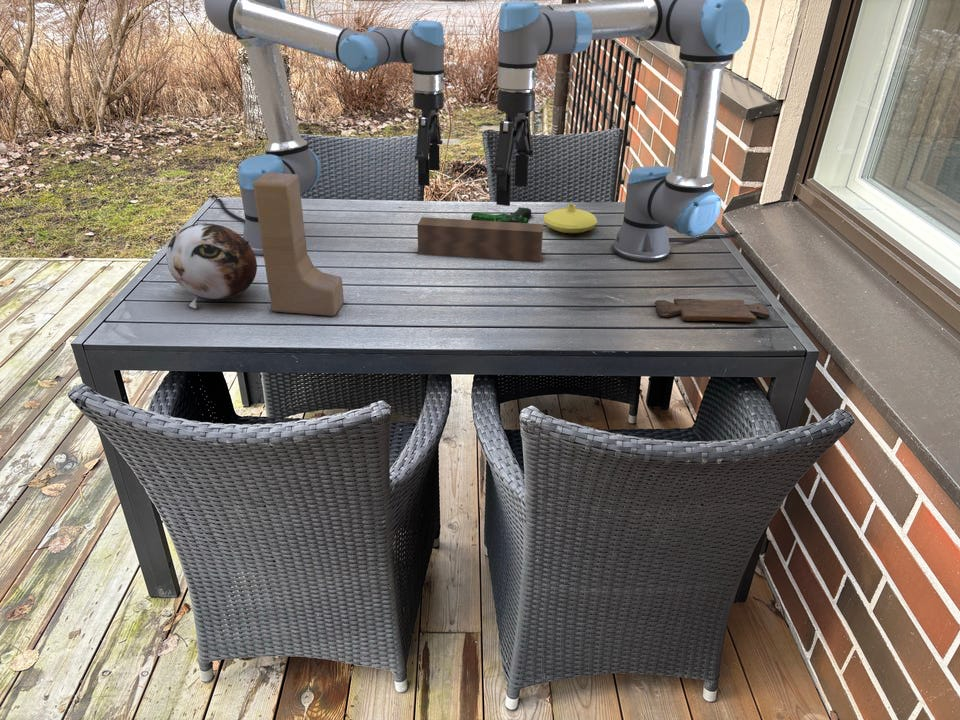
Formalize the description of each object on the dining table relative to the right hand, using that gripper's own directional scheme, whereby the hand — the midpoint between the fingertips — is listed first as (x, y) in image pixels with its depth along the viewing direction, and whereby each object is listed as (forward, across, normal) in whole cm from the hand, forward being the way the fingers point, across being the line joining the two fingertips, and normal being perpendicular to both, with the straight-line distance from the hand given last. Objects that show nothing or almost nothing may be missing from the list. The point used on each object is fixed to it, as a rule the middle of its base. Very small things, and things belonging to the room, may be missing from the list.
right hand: (512, 195), depth 151 cm
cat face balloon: (+27, -16, +67) cm, 74 cm away
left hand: (+7, +27, +30) cm, 41 cm away
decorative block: (+27, -15, +44) cm, 53 cm away
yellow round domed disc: (+27, +57, -2) cm, 63 cm away
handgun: (+27, +57, +18) cm, 66 cm away
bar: (+27, +30, +17) cm, 44 cm away
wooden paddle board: (+27, +14, -45) cm, 55 cm away
